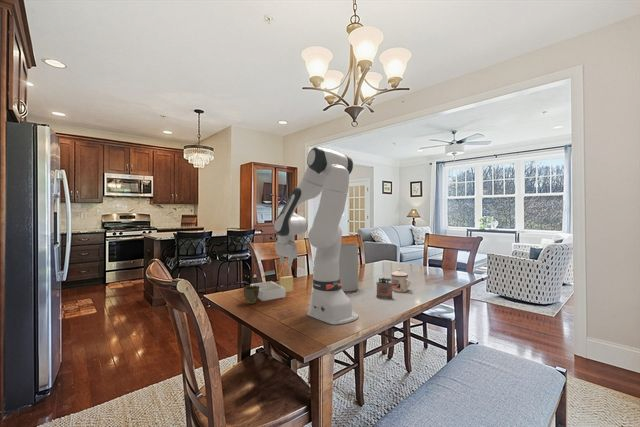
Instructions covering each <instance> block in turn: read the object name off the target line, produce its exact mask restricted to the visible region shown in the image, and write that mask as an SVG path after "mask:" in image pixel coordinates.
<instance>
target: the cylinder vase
mask: <svg viewBox="0 0 640 427" xmlns="http://www.w3.org/2000/svg"><path fill="white" fill-rule="evenodd" d="M339 279H340V282H341V283H343V284H341V285H343V286H342V288H341V289H342V290H343V292H344V293H345V292H347V293H350V292H356V291H358V289H359V244H357V243H341V249H340V257H339Z"/></svg>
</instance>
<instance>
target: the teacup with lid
mask: <svg viewBox="0 0 640 427" xmlns="http://www.w3.org/2000/svg"><path fill="white" fill-rule="evenodd" d="M390 276H391V278H390V279H391V281H390V283H392V292H395V293H396V292H397V293H404V292H405V293H406V292H408V289H409V288H410V287H411V283H412V282H411V280H410V279H409V278H408V276H409V275H408V273H406V272H404V271H403V270H402V269H401V268H397V270H395V271H393V272H391V274H390Z"/></svg>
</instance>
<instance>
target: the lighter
mask: <svg viewBox="0 0 640 427" xmlns="http://www.w3.org/2000/svg"><path fill="white" fill-rule="evenodd" d="M375 297H376V298H378V299H384V300H385V299H387V300H392V299H393V290H392V283H391V278H388V277H386V278H385V277H384V276H383V277H378V281H376V296H375Z"/></svg>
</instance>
